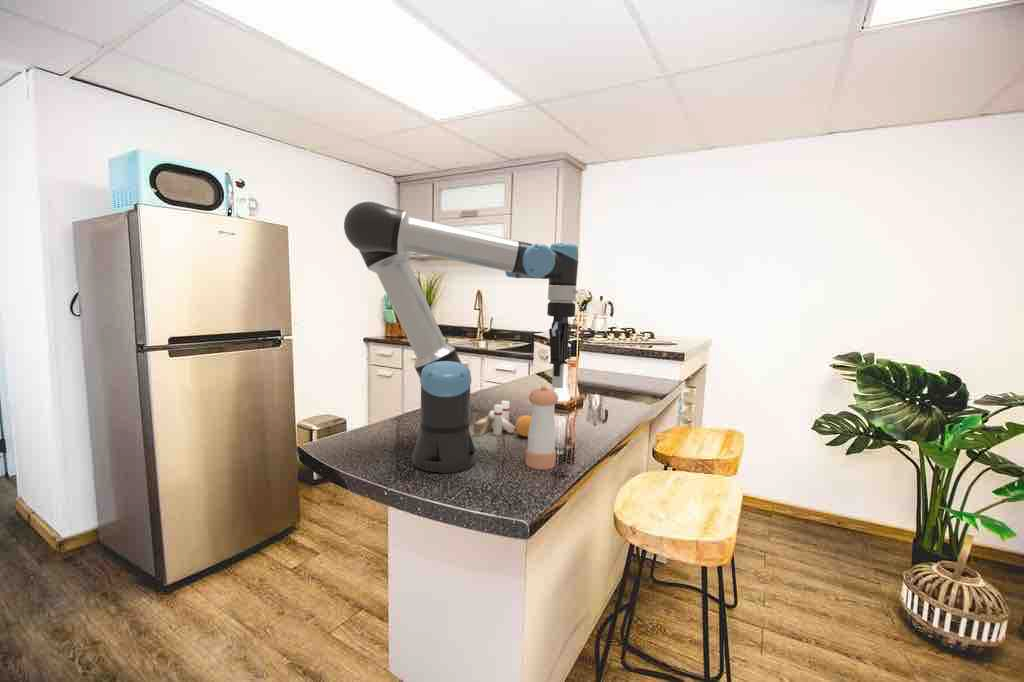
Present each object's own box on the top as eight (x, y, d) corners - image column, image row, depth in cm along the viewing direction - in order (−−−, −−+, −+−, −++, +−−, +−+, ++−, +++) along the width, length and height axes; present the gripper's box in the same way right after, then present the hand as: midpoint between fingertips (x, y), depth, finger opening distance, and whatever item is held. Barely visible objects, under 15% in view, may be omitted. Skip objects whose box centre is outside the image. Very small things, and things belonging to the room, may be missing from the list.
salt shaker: (519, 464, 107) (522, 386, 105) (536, 455, 113) (539, 382, 111) (544, 472, 103) (548, 391, 101) (561, 463, 109) (565, 386, 107)
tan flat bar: (479, 436, 126) (479, 424, 126) (473, 435, 127) (473, 423, 126) (499, 423, 139) (500, 412, 138) (494, 422, 140) (494, 411, 139)
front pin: (511, 431, 128) (487, 414, 130) (509, 435, 130) (486, 418, 132) (516, 425, 129) (492, 408, 132) (514, 429, 131) (491, 412, 134)
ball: (514, 421, 124) (522, 441, 124) (534, 412, 125) (541, 432, 125) (510, 419, 130) (518, 438, 130) (529, 411, 131) (536, 430, 131)
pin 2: (503, 431, 132) (504, 403, 131) (498, 428, 134) (499, 401, 133) (510, 429, 133) (511, 402, 132) (505, 427, 135) (506, 400, 134)
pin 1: (495, 435, 127) (496, 406, 126) (491, 433, 129) (492, 404, 128) (503, 434, 128) (504, 405, 127) (498, 432, 131) (499, 403, 130)
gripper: (568, 302, 113) (563, 393, 116) (581, 302, 125) (576, 384, 128) (540, 301, 116) (536, 390, 119) (555, 300, 128) (551, 381, 130)
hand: (557, 387), depth 123 cm, fingers closed
